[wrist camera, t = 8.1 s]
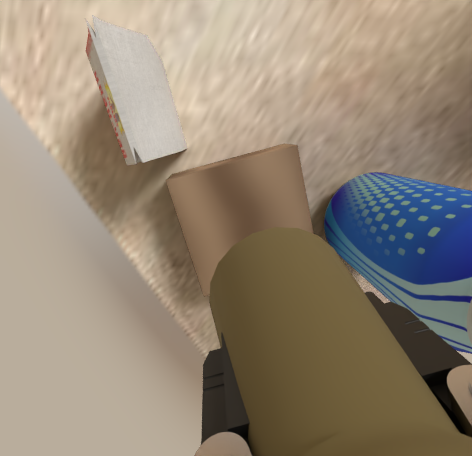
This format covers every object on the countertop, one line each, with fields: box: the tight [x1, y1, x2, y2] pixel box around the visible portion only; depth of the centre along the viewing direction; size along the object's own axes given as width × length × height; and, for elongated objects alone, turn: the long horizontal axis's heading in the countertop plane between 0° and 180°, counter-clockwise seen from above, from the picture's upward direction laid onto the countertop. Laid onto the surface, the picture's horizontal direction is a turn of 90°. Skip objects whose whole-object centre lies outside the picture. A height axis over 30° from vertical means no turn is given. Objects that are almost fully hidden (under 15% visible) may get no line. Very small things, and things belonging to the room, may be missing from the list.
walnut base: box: [166, 144, 313, 297], centre depth 25 cm, size 10×10×4 cm
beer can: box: [324, 172, 472, 354], centre depth 20 cm, size 8×8×16 cm
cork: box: [209, 227, 472, 456], centre depth 8 cm, size 6×6×11 cm
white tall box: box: [85, 15, 187, 165], centre depth 19 cm, size 4×7×10 cm, turn 14°
